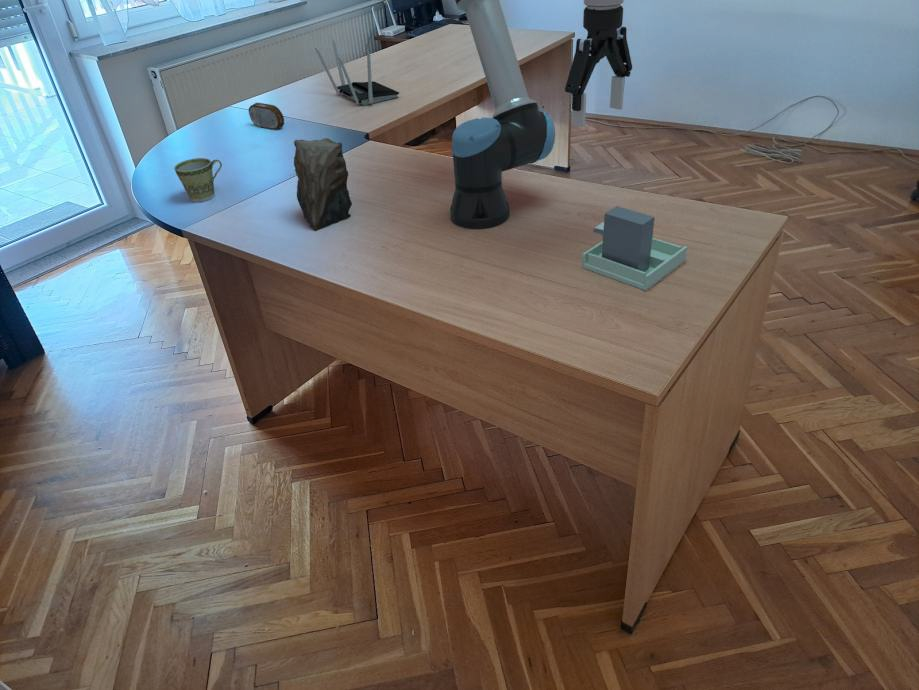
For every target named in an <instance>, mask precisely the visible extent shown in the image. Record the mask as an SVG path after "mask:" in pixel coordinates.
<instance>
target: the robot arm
mask: <svg viewBox="0 0 919 690" xmlns="http://www.w3.org/2000/svg"><path fill="white" fill-rule="evenodd" d="M454 1H455V4H456V7H457V9H458V10H459V11H460V12H463V13H464V14H465V15H466V18H467V22H468V25H469V28H470V32H471V35H472V38H473V41H474V44H475V47H476V50H477V54H478V57H479V60H480V64H481V66H482V70H483V73H484V76H485V80H486V82H487V85H488V86H487V87H488V89H489V93H490V95H491V99H492V102H493V105H494V109H495V111H494V113H493V114H492V117H481V118H473V119H470V120H466V121H464V122H462V123H461V124H459V125H458V126H457V127H456V128H455V129H454V130H453V133H452V135H451V136H452V138H451V153H452V160H453V175H454V187H455V188H454V192H453V193H454V194H453V197H452V202H451V205H450V209H449V214H450V215H449V216H450V221H451V222H453V224H455V225H457V226H459V227H462V228H466V229H475V230H476V229H479V230H480V229H487V228H492V227H496V226H499V225H501V224H503V223H505V222H506V221H507V220H508V219H509V218H510V215H511V214H510V204H509V202H508V200H507V197H506V194H505V191H504V188H503V181H502V180H503V179H502V177H503V176H502V173H503V172H505V171H509V170H512V169H516V168H519V167H523V166H526V165H528V164H534V163H536V162H538V161H541V160H543V159H546V158H548V156H549V155H550V154H551V153H552V150H553V148H554V144H555V140H556V129H555V124H554V121H553V118H552V117H551V115H549V113H548V112H547V111H544V110H541V109H539V106H538V103H537V102H538V101H536V100H534V99H532V98H530V97H529V94H528V92H527V87H526V85H525V81H524V77H523V74H522V72H521V68H520V64H519V61H518V58H517V54H516V51H515V49H514V44H513V41H512V39H511V34H510V32H509V29H508V24H507V21H506V19H505V18H506V17H505V15H504V11H503V8H502V5H501V2H500V0H454ZM624 1H625V0H583V4H584V6H586V7H584V9H583V20H582V24H583V28H584V30H586V31H587V36H586V39H585V38H576V39H577V40H576V43H575V51H574V56H573V59H572V63H571V66H570V69H569V74H568V77H567V80H566V84H565V88H564V92H566V93H568V94H571V103H572V104H571V109H572V112H571V113H572V114H571V115H572V116H571V117H572V118H571V125H572V126H575V127H579V128H585V127H586V113H587V93H585V90H586V89H587V85H588V83H589V82H590V79H591V78H592V77H591V76H592V74H593V72H594V69H595V68H596V65H597V64H598V63H600V62H601V60H602V59H604V58H605V57H606V60H607V61H608V63H609V66H610V67H611V70H612V72H613V74H614V75H612V76H611V82H610V99H609V108H610V109H615V110H620V111H621V110H623V105H624V92H625V82H626V81H625V80H626V77H628V78H629V77H630V75H631V72H632V70H633V64H632V63H633V62H632V58H631V54H630V50H629V43H628V40H627V26H623V19H624V7H623V5H622V4H623V3H624Z"/></svg>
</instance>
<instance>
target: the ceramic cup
mask: <svg viewBox="0 0 919 690" xmlns="http://www.w3.org/2000/svg"><path fill="white" fill-rule="evenodd" d="M216 163H219V165H220V166H219V168H217V170H216V171H215V173H213V168H214V165H215V164H216ZM222 165H223V164H222V162H221V160H218V159H214V160H211V159H209V158H206V157H195V158H190V159H186V160H182V161H180V162H178V163H177V164H175V165H174V168H173V169H174V171H175V173H176V175H177V177H178V180H179V181H180V182H181V185H182V186H183V188H184V190H185V192H186V194H187V196H188V198H189V200H190V201H192V202H193V203H205V202H208V201H211V200H212V199H213V198H214V197H215V195H216V194H215V184H214V180H215V179H216V177H217V175H218V173H219V172H220V171H221V169H222V167H223V166H222Z"/></svg>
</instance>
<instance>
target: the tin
mask: <svg viewBox="0 0 919 690" xmlns="http://www.w3.org/2000/svg"><path fill="white" fill-rule="evenodd" d="M248 115H249V118H250V120H251V122H252V123H253V124H254V125H255V126H257V127H258V128H262V129H268V130H274V131H276V130H279V129H281V128H283V127H284V124H285V118H284V114H283V113H282V111H281V110H280V108H278V106H276V105H275V104H270V103H263V102H254V103H253V104H251V105H250V106H249V108H248Z"/></svg>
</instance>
